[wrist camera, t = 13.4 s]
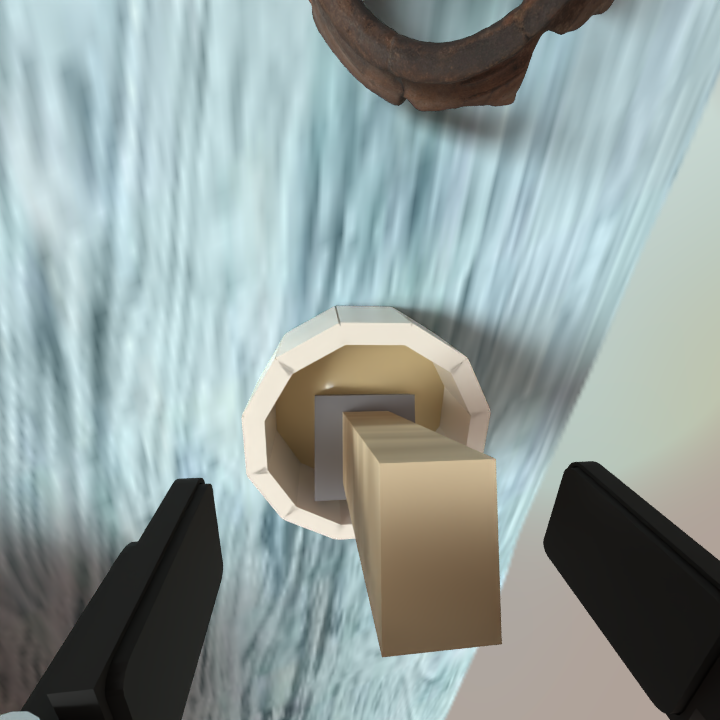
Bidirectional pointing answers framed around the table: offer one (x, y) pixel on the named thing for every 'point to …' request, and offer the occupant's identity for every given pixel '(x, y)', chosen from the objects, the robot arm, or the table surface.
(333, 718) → the table surface
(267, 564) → the table surface
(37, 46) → the table surface
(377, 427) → the wall mounted peg
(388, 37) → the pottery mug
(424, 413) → the cream faceted bowl
